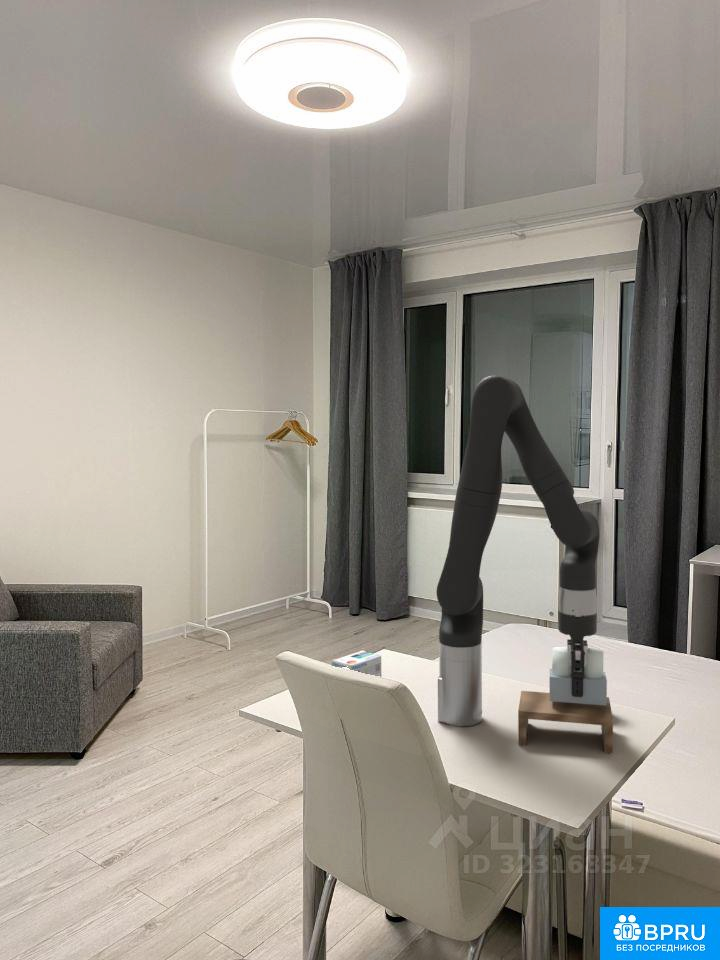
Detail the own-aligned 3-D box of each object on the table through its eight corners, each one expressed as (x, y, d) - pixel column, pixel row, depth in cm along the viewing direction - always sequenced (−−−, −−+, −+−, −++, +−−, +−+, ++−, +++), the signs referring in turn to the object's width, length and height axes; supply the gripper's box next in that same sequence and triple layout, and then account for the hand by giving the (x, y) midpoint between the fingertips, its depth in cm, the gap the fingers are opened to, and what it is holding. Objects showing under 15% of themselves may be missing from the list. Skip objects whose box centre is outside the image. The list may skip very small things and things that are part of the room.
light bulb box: (362, 692, 179) (362, 649, 179) (383, 699, 175) (382, 654, 174) (331, 704, 172) (330, 659, 171) (351, 711, 167) (351, 665, 166)
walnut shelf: (518, 744, 148) (518, 710, 147) (521, 722, 159) (521, 690, 159) (612, 753, 143) (612, 718, 143) (608, 729, 155) (608, 697, 154)
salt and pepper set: (549, 701, 149) (549, 652, 148) (549, 691, 154) (549, 644, 154) (606, 705, 146) (606, 656, 146) (604, 696, 151) (605, 648, 151)
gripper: (558, 600, 157) (558, 678, 158) (558, 616, 143) (557, 702, 144) (595, 602, 155) (594, 681, 156) (598, 619, 141) (598, 705, 142)
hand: (576, 690), depth 150 cm, fingers closed on salt and pepper set, 5 cm apart
